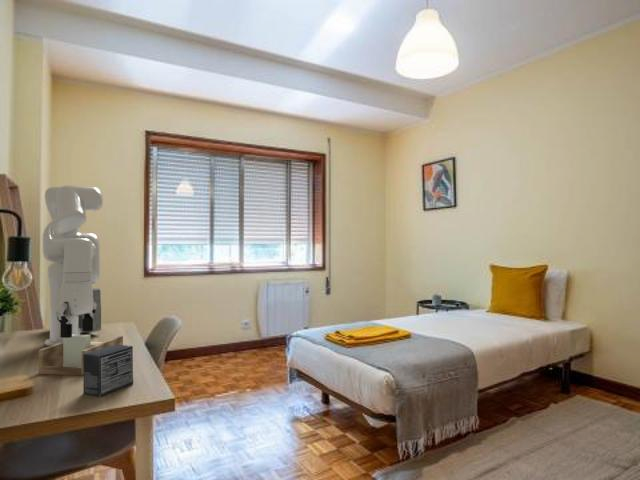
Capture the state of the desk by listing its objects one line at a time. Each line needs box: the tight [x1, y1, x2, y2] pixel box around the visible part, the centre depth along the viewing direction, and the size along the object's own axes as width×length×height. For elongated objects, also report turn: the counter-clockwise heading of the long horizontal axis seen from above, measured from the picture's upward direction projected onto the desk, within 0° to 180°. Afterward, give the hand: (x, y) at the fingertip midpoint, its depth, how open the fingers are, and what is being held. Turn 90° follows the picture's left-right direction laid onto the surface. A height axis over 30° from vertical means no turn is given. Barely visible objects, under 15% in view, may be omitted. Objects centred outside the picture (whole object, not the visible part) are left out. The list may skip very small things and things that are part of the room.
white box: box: [62, 334, 92, 367], centre depth 125 cm, size 2×7×10 cm, turn 86°
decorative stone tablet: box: [79, 287, 102, 335], centre depth 176 cm, size 19×6×30 cm
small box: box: [82, 344, 134, 398], centre depth 107 cm, size 11×6×10 cm, turn 157°
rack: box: [38, 335, 124, 376], centre depth 128 cm, size 20×14×7 cm
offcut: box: [90, 341, 104, 347], centre depth 134 cm, size 4×7×2 cm, turn 87°
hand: (77, 334), depth 124 cm, fingers open, 9 cm apart
